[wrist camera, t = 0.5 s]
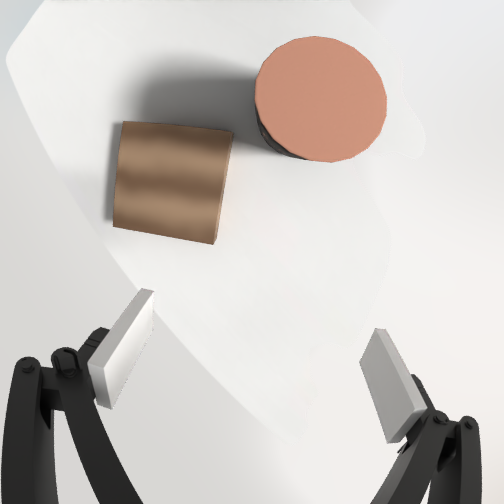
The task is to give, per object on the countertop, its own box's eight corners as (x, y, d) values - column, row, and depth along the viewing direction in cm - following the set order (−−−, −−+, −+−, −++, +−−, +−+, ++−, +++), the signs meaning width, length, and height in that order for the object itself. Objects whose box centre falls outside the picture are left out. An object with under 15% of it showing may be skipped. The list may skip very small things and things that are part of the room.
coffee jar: (250, 148, 38) (241, 145, 21) (266, 75, 35) (268, 22, 18) (327, 166, 39) (373, 178, 22) (342, 94, 35) (395, 59, 18)
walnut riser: (132, 122, 37) (123, 121, 34) (233, 133, 38) (231, 131, 35) (121, 221, 42) (112, 226, 39) (216, 238, 43) (213, 244, 40)
